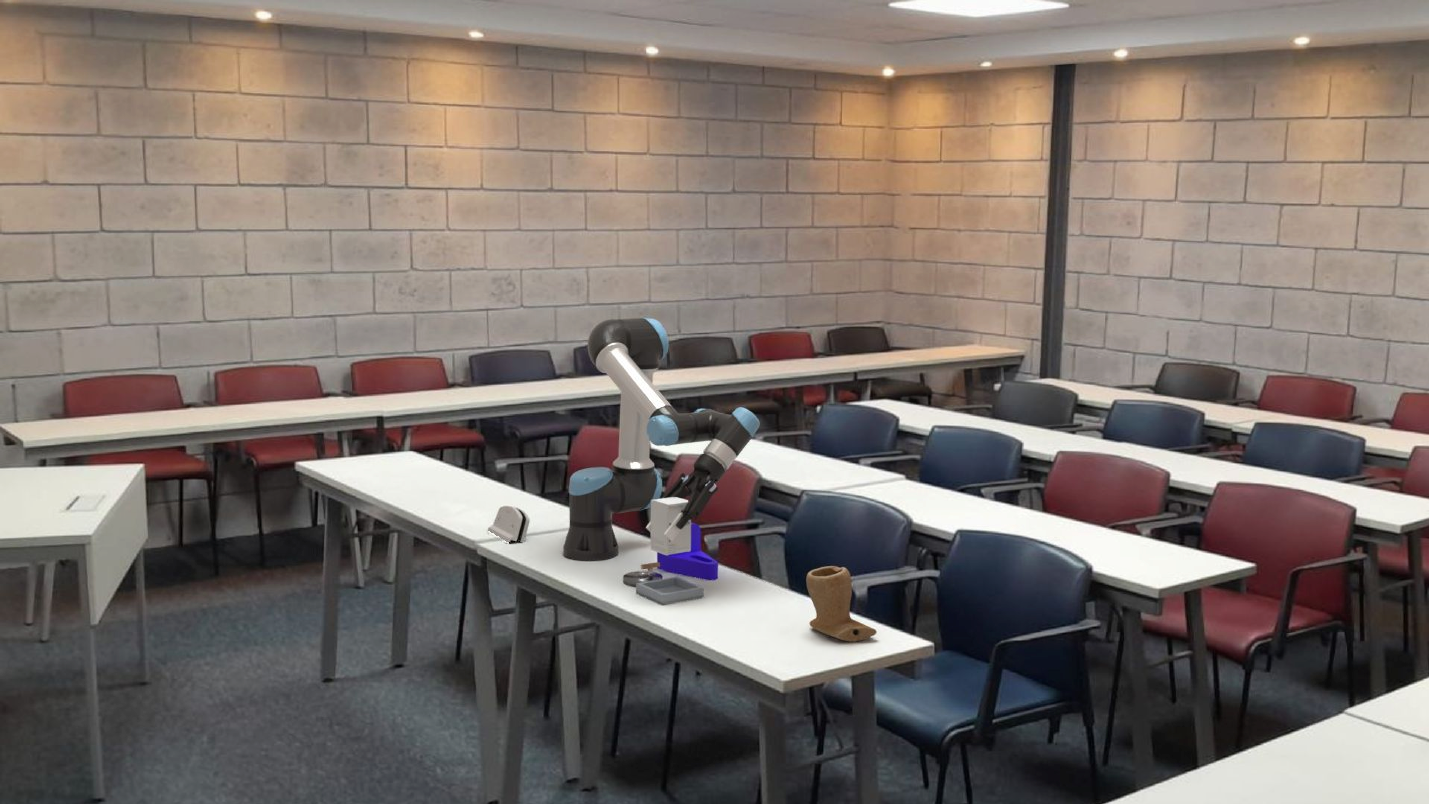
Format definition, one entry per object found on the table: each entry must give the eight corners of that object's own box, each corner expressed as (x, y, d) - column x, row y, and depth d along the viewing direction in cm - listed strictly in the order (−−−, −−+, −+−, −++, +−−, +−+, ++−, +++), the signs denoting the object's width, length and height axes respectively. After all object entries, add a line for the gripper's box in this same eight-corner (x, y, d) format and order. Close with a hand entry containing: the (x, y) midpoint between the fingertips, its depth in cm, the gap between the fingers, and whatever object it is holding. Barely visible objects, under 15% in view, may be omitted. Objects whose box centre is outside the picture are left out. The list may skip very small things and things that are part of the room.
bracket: (657, 568, 340) (657, 525, 339) (690, 562, 347) (690, 519, 345) (698, 583, 326) (698, 538, 325) (731, 577, 333) (732, 532, 331)
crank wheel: (615, 580, 328) (616, 559, 327) (649, 574, 334) (649, 554, 333) (636, 589, 320) (636, 567, 319) (670, 583, 325) (670, 562, 325)
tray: (636, 593, 316) (636, 583, 316) (676, 586, 323) (676, 576, 323) (662, 605, 306) (662, 595, 306) (704, 597, 313) (704, 587, 313)
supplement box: (666, 556, 308) (666, 504, 306) (649, 550, 314) (649, 499, 312) (691, 551, 312) (692, 500, 311) (674, 545, 318) (674, 495, 317)
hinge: (486, 532, 378) (496, 500, 379) (500, 536, 381) (510, 504, 381) (508, 544, 364) (518, 510, 365) (522, 548, 367) (533, 514, 367)
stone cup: (795, 628, 289) (796, 563, 287) (840, 622, 295) (841, 558, 293) (831, 648, 276) (833, 580, 274) (877, 640, 281) (879, 574, 279)
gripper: (747, 477, 311) (691, 552, 304) (699, 465, 328) (645, 535, 321) (729, 458, 308) (672, 533, 301) (682, 446, 324) (627, 517, 317)
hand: (658, 534), depth 311 cm, fingers closed on supplement box, 7 cm apart
